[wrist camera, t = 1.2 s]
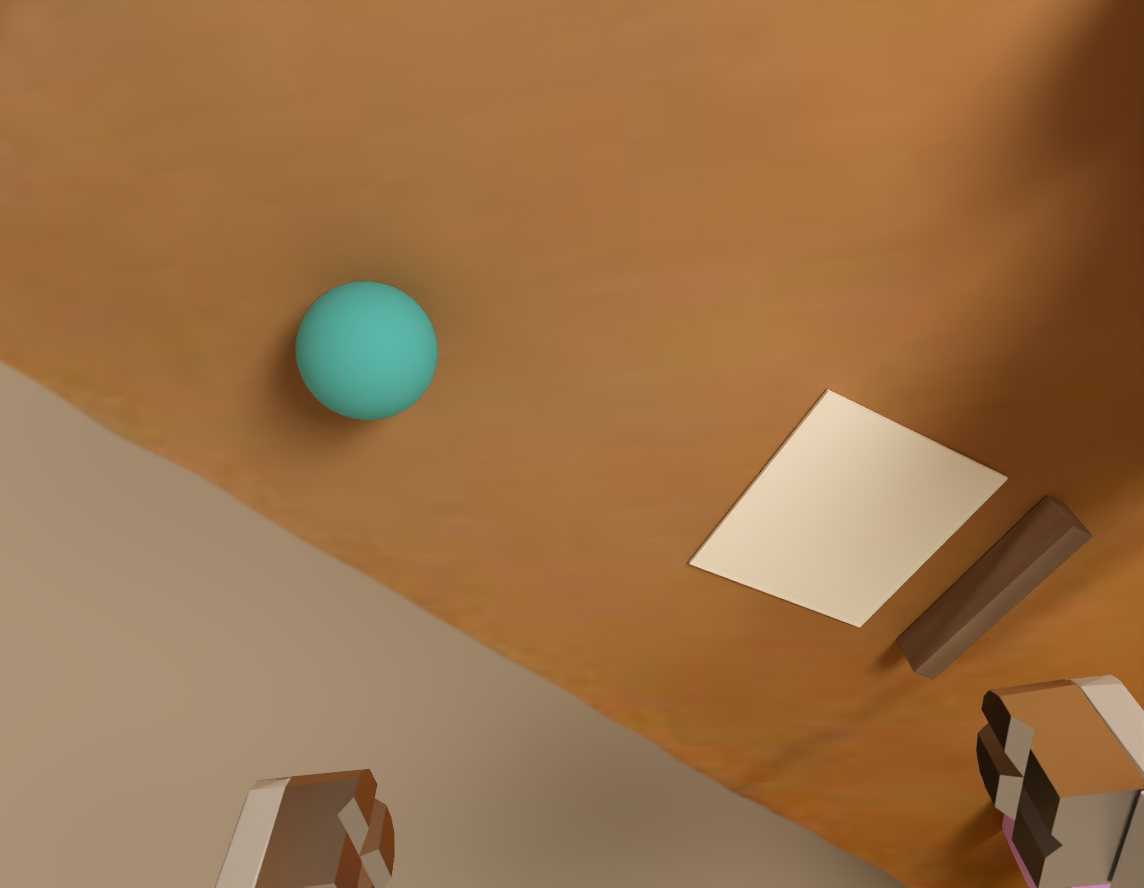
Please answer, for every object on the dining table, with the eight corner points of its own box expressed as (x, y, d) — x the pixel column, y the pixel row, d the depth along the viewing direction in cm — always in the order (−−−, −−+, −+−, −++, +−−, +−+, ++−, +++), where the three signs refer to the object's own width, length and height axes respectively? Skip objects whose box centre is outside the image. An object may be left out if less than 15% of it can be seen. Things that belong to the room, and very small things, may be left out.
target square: (688, 561, 45) (689, 564, 45) (826, 389, 39) (828, 391, 39) (858, 624, 49) (859, 627, 49) (1006, 476, 43) (1008, 478, 43)
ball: (291, 346, 36) (262, 415, 31) (335, 237, 33) (311, 294, 29) (411, 394, 38) (400, 466, 33) (461, 294, 35) (457, 356, 31)
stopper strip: (896, 639, 50) (914, 672, 48) (1046, 495, 44) (1073, 526, 42) (915, 646, 50) (933, 679, 48) (1065, 505, 45) (1093, 535, 43)
